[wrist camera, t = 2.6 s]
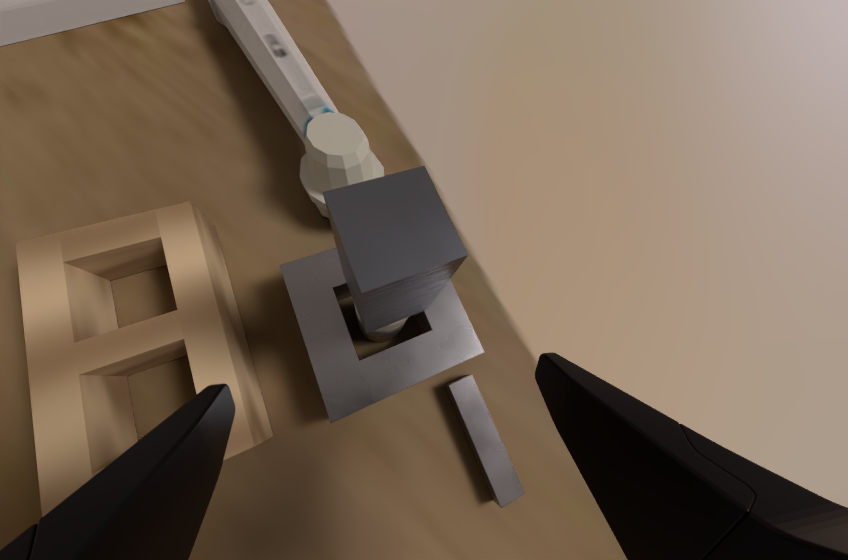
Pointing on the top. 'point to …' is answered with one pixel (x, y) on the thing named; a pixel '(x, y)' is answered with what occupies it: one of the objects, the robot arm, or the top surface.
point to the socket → (380, 373)
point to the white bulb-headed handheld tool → (300, 100)
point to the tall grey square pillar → (393, 247)
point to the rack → (125, 338)
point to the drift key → (484, 441)
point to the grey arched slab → (63, 15)
